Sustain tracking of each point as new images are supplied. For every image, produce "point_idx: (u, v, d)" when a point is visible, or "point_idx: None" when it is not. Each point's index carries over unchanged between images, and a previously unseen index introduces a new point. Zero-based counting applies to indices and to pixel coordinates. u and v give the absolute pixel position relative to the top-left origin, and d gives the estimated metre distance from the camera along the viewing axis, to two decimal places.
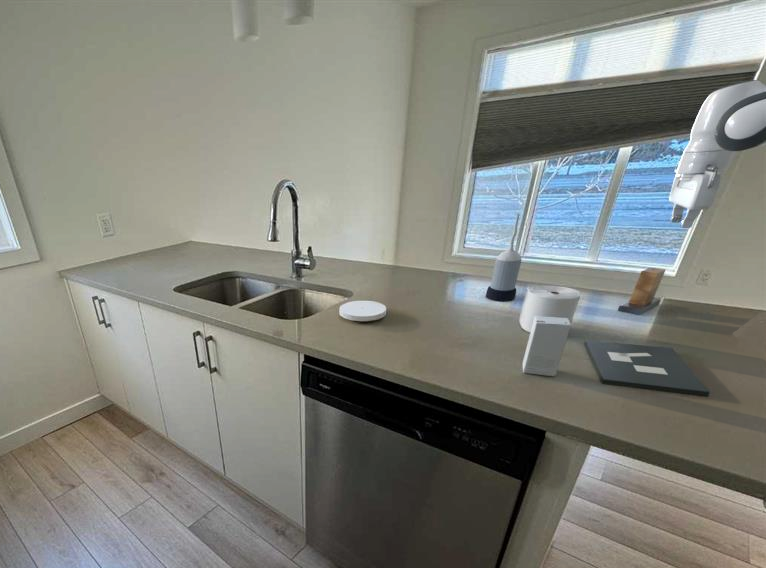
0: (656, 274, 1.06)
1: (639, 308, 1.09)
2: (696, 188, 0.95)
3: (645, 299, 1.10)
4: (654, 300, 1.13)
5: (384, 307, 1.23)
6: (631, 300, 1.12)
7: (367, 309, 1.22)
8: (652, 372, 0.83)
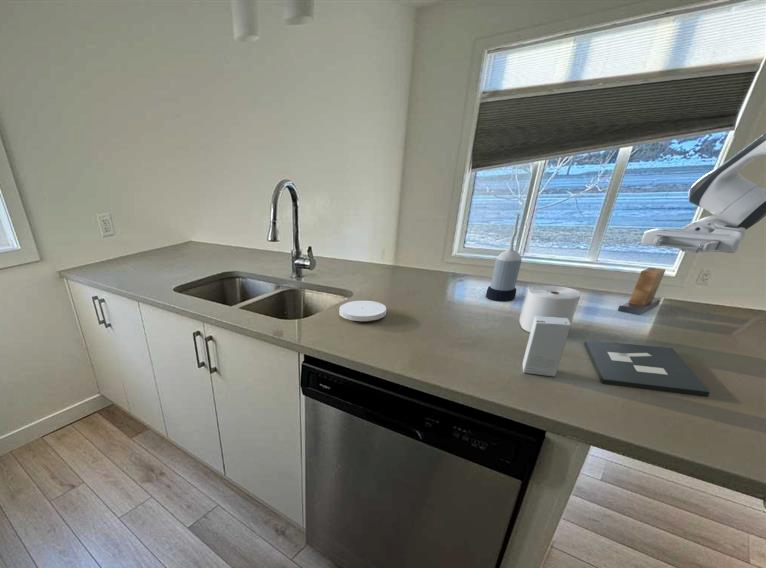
0: (656, 274, 1.06)
1: (639, 308, 1.09)
2: None
3: (645, 299, 1.10)
4: (654, 300, 1.13)
5: (384, 307, 1.23)
6: (631, 300, 1.12)
7: (367, 309, 1.22)
8: (652, 372, 0.83)
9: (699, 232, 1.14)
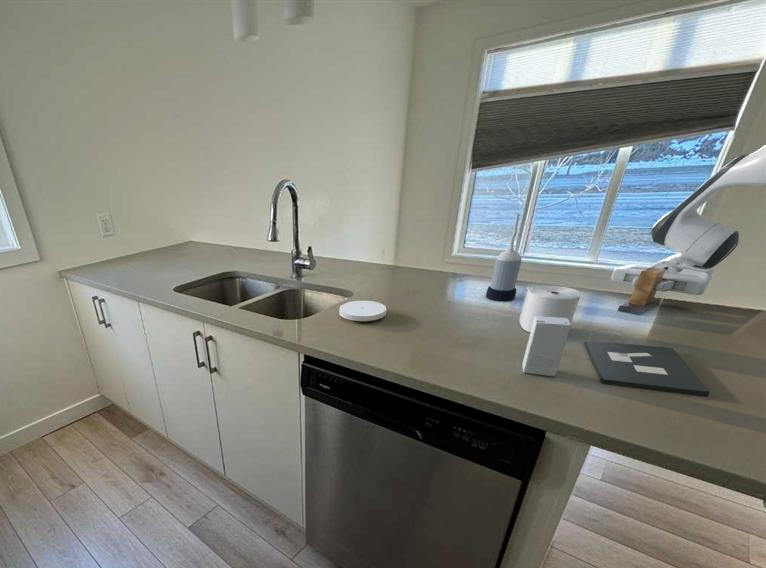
0: (656, 274, 1.06)
1: (639, 308, 1.09)
2: None
3: (645, 299, 1.10)
4: (654, 300, 1.13)
5: (384, 307, 1.23)
6: (631, 300, 1.12)
7: (367, 309, 1.22)
8: (652, 372, 0.83)
9: (667, 271, 1.13)
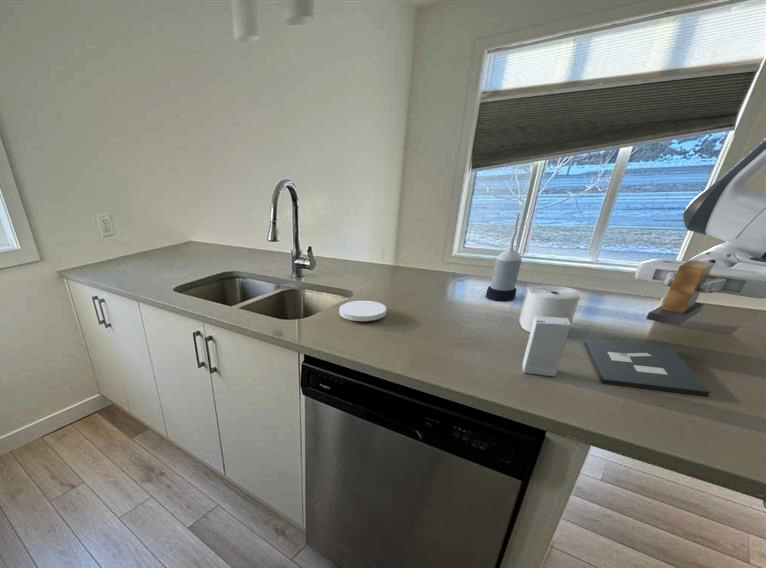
0: (702, 269, 0.76)
1: (677, 316, 0.79)
2: None
3: (685, 304, 0.80)
4: (696, 305, 0.83)
5: (384, 307, 1.23)
6: (664, 305, 0.82)
7: (367, 309, 1.22)
8: (652, 372, 0.83)
9: (714, 266, 0.83)
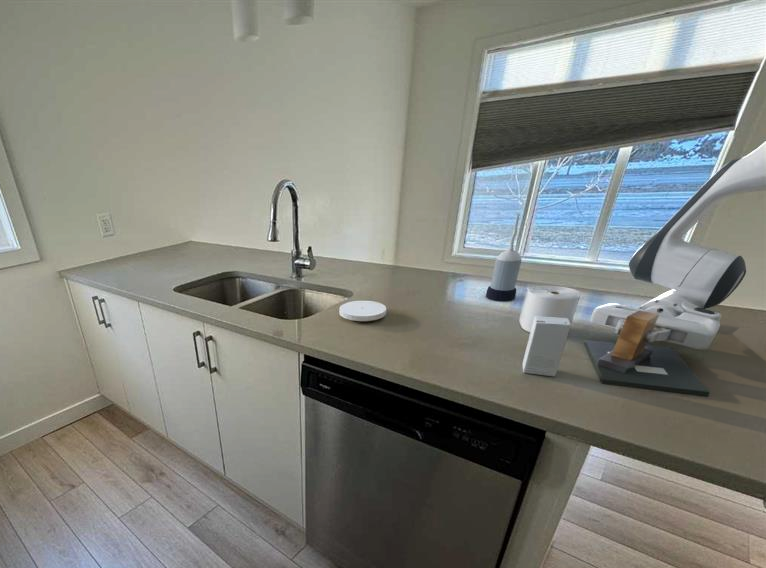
0: (646, 322, 0.80)
1: (624, 364, 0.83)
2: None
3: (632, 352, 0.84)
4: (644, 352, 0.87)
5: (384, 307, 1.23)
6: (614, 352, 0.86)
7: (367, 309, 1.22)
8: (652, 372, 0.83)
9: (662, 315, 0.87)
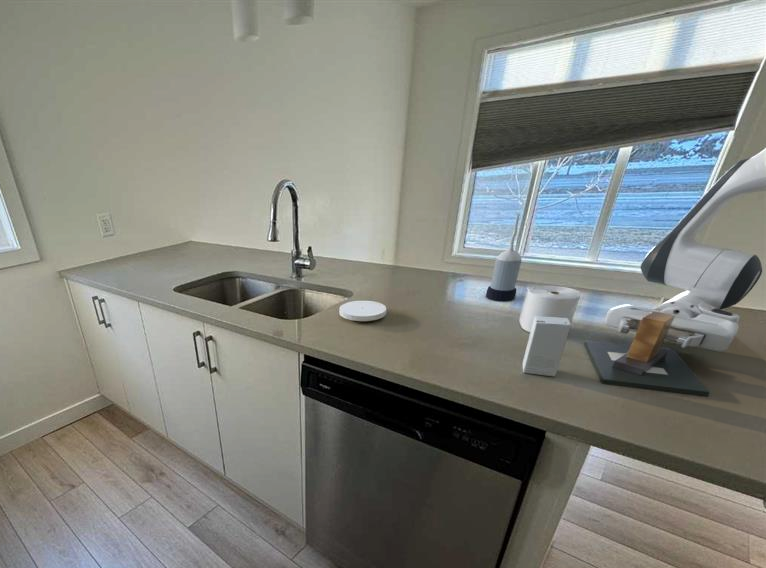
0: (663, 323, 0.79)
1: (640, 366, 0.82)
2: None
3: (648, 354, 0.83)
4: (659, 353, 0.86)
5: (384, 307, 1.23)
6: (629, 354, 0.85)
7: (367, 309, 1.22)
8: (652, 372, 0.83)
9: (678, 316, 0.86)
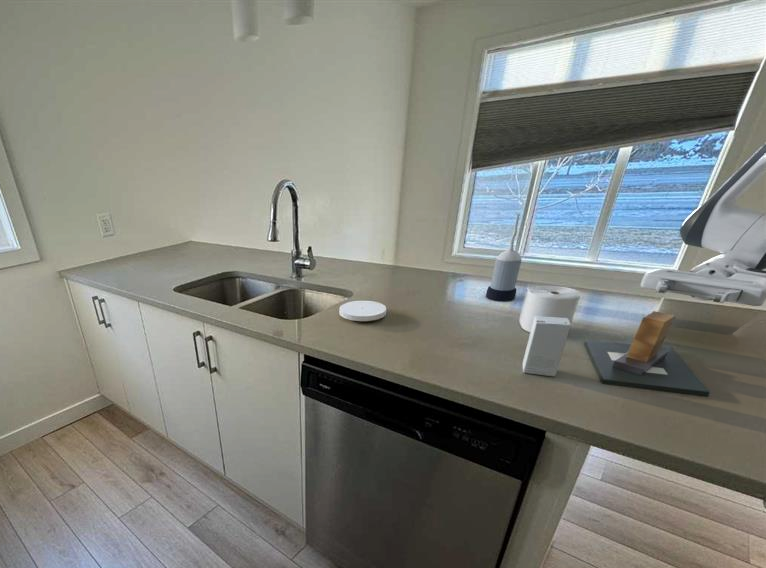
0: (663, 323, 0.79)
1: (640, 366, 0.82)
2: None
3: (648, 354, 0.83)
4: (659, 353, 0.86)
5: (384, 307, 1.23)
6: (629, 354, 0.85)
7: (367, 309, 1.22)
8: (652, 372, 0.83)
9: (714, 276, 0.90)
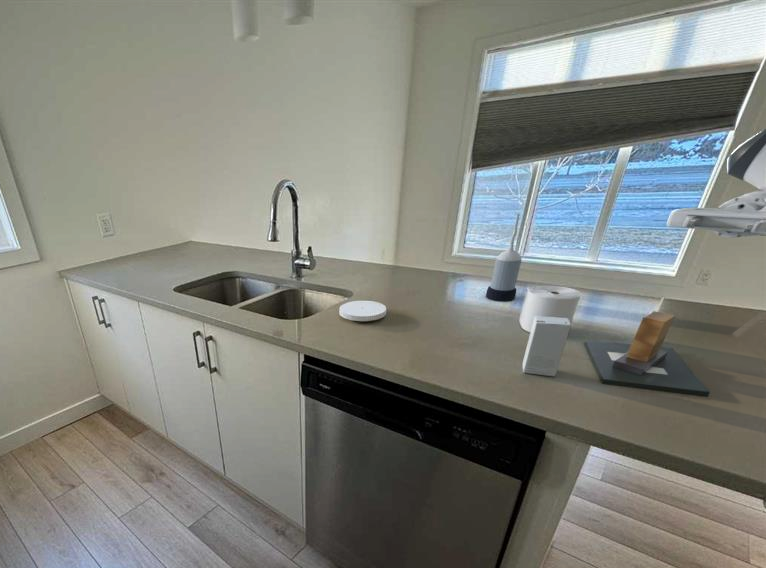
0: (663, 323, 0.79)
1: (640, 366, 0.82)
2: None
3: (648, 354, 0.83)
4: (659, 353, 0.86)
5: (384, 307, 1.23)
6: (629, 354, 0.85)
7: (367, 309, 1.22)
8: (652, 372, 0.83)
9: (743, 210, 0.89)
